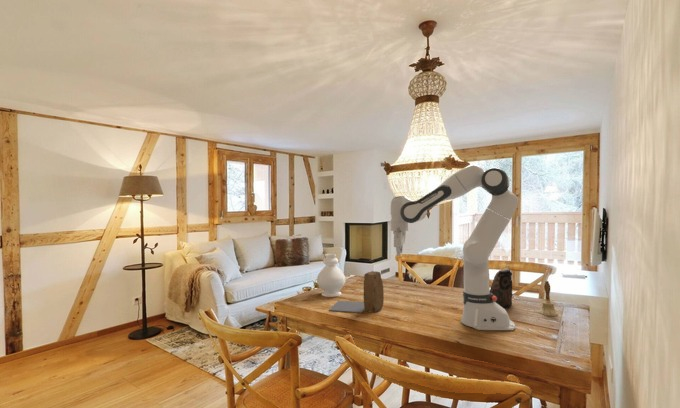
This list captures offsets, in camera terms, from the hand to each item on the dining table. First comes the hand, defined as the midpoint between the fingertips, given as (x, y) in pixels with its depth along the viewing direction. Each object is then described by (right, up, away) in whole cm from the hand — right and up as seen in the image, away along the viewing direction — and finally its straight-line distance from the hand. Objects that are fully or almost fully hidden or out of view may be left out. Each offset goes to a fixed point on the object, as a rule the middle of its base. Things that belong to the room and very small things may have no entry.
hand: (399, 254), depth 177 cm
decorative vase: (-36, -31, +38) cm, 61 cm away
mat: (-26, -30, +10) cm, 41 cm away
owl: (+56, -29, +8) cm, 64 cm away
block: (-13, -30, +4) cm, 33 cm away
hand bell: (+72, -28, -8) cm, 78 cm away
